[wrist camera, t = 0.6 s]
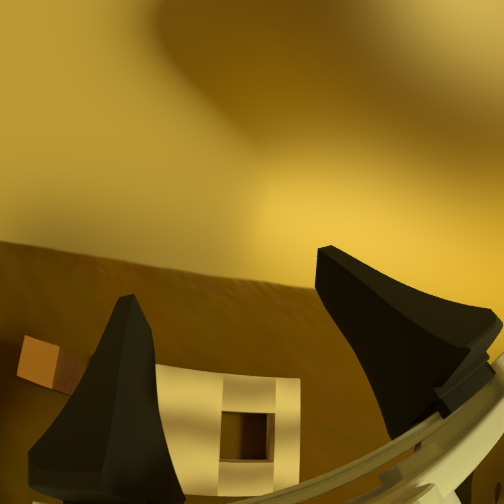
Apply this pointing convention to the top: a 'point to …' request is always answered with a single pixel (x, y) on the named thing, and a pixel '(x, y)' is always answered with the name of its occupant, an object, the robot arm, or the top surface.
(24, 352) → the brown wooden block
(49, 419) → the top surface
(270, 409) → the board
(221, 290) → the top surface
